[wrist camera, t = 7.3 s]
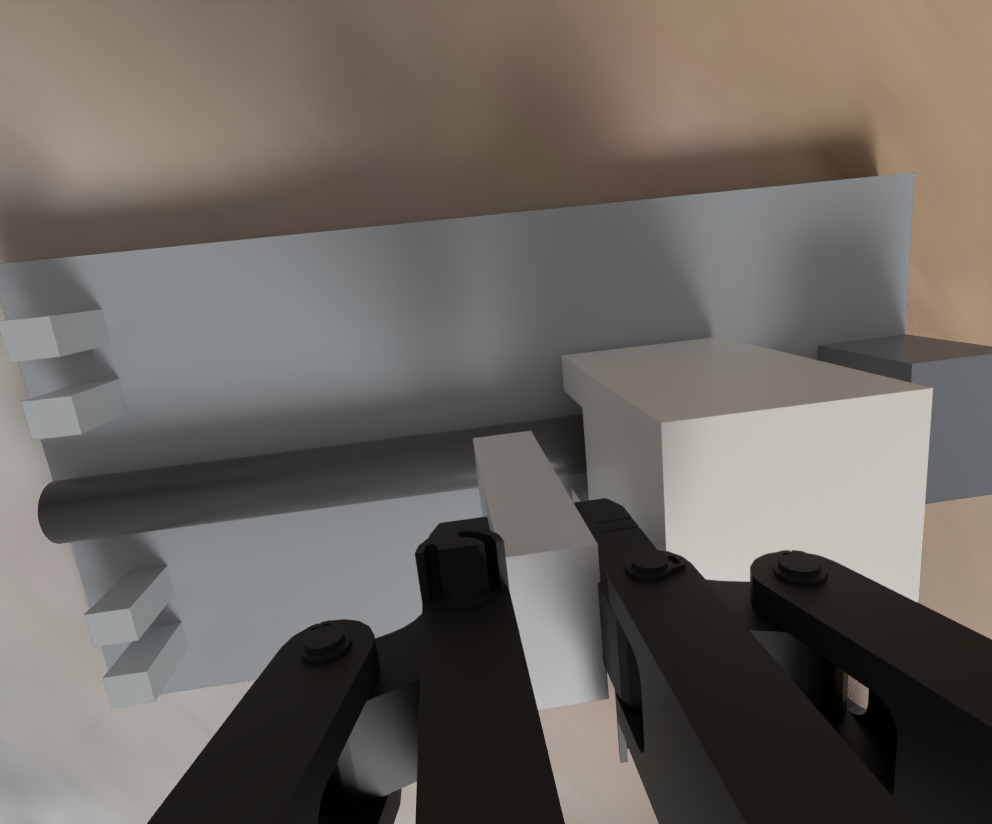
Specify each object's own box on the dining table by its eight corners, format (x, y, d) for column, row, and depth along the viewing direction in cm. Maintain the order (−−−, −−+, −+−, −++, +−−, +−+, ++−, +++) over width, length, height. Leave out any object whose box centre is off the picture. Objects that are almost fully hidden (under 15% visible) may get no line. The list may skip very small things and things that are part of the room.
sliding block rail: (138, 671, 22) (42, 804, 16) (25, 265, 18) (-144, 263, 13) (862, 563, 24) (988, 649, 18) (879, 179, 20) (1040, 147, 15)
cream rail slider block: (573, 519, 20) (671, 691, 12) (560, 355, 19) (661, 423, 11) (721, 498, 20) (914, 652, 12) (718, 336, 19) (933, 387, 11)
